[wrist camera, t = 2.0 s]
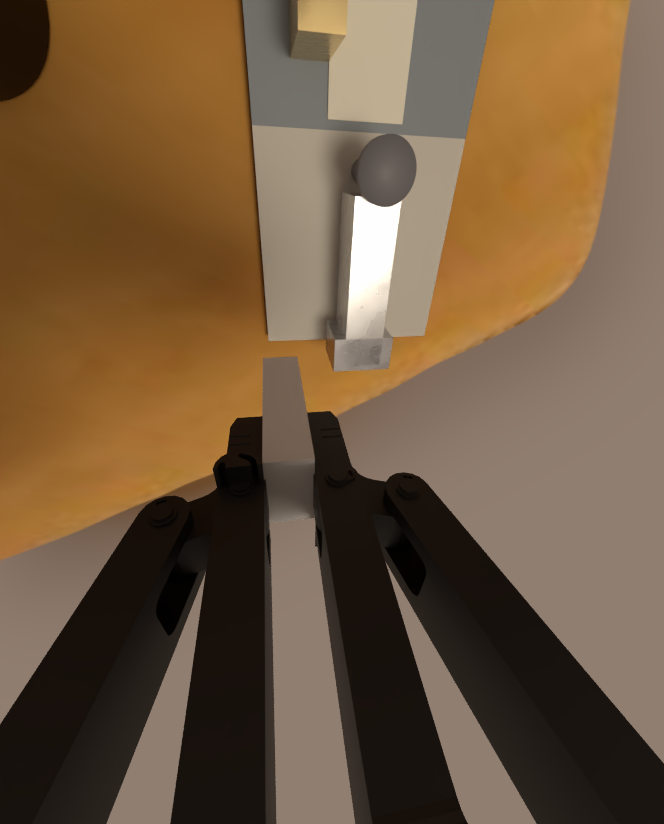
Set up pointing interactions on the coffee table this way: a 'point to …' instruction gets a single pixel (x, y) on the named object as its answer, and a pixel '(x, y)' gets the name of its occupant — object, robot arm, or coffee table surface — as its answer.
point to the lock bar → (363, 286)
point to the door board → (359, 148)
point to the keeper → (316, 28)
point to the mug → (21, 44)
